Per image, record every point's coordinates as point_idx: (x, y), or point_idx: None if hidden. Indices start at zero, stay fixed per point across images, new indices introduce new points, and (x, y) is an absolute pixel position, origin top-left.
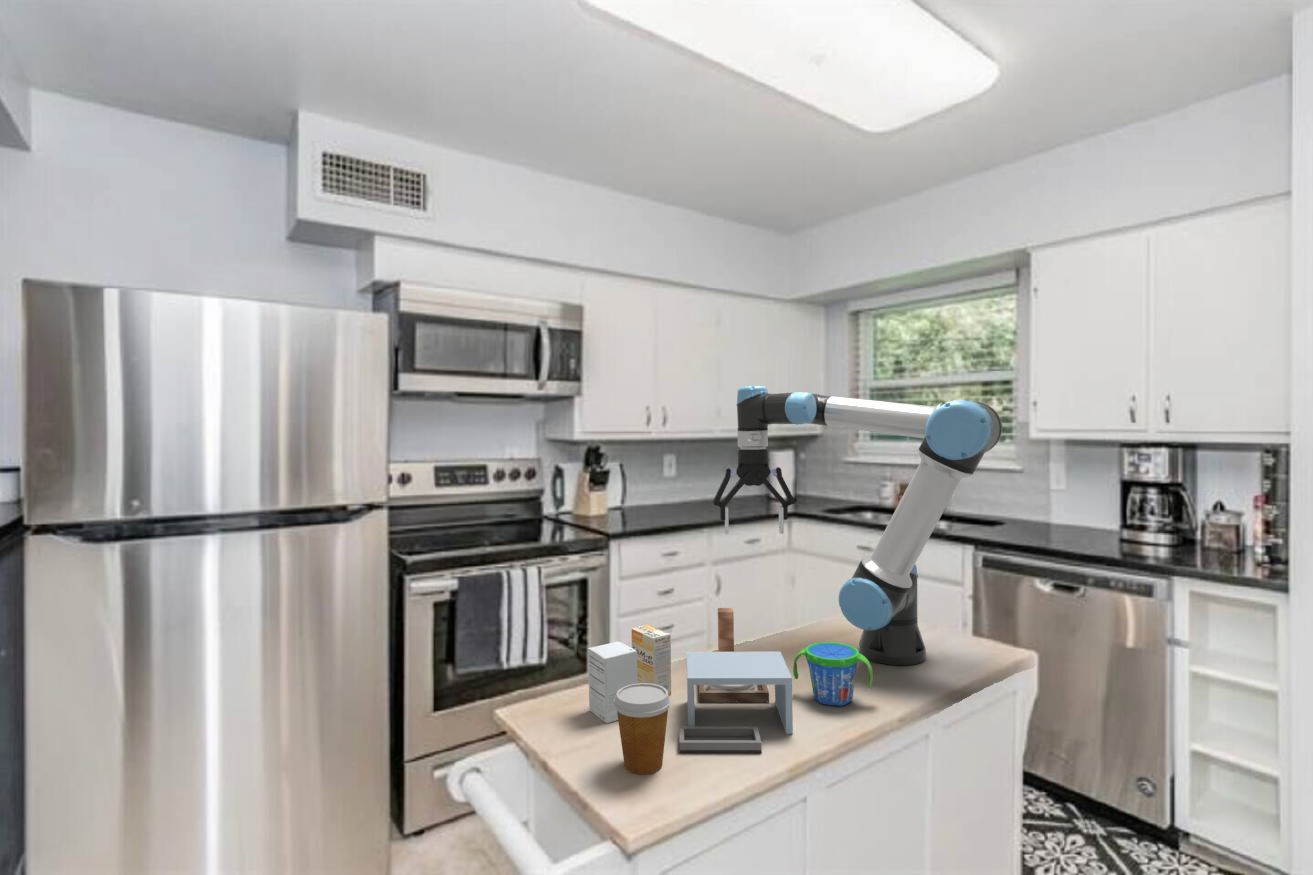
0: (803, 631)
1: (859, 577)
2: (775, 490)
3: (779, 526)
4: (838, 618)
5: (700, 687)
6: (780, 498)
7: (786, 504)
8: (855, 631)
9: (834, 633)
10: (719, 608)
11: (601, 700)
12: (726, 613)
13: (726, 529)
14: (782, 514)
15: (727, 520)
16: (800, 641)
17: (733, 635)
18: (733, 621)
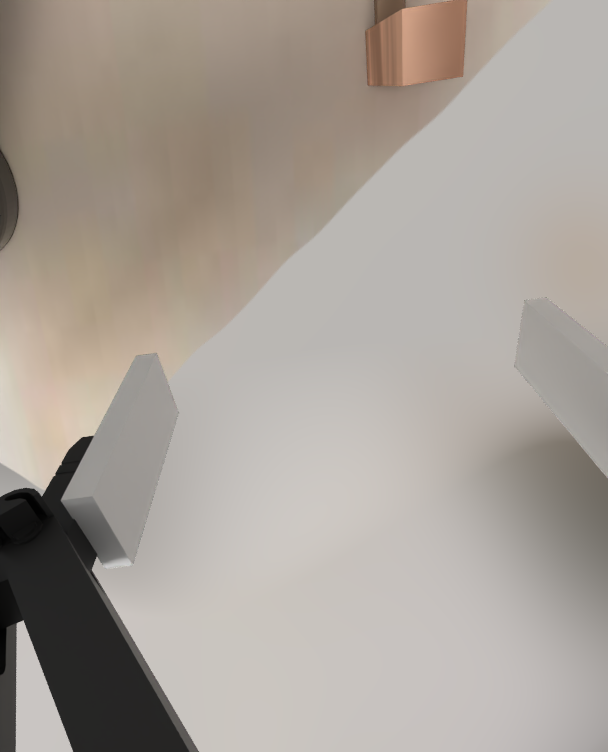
0: (187, 335)
1: None
2: (70, 709)
3: (163, 419)
4: None
5: None
6: (50, 592)
7: (1, 517)
8: (60, 352)
9: (108, 331)
10: (456, 69)
11: None
12: (430, 4)
13: (557, 313)
14: (96, 446)
15: (590, 348)
16: (186, 258)
17: (382, 21)
18: (393, 14)
